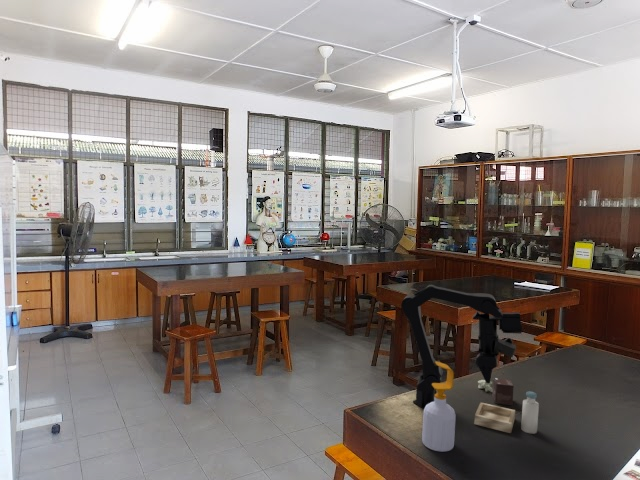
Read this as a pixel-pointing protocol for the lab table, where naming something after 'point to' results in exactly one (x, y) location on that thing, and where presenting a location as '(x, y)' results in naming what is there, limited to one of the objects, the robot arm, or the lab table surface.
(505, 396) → the box
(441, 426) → the soap bottle
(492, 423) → the oak tray
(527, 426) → the reagent bottle
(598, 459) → the lab table surface
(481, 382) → the vertebra
